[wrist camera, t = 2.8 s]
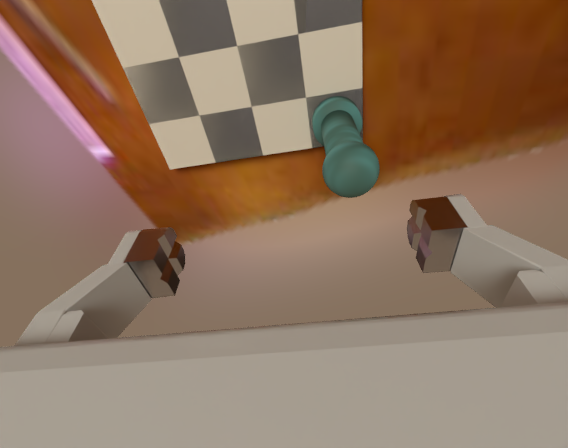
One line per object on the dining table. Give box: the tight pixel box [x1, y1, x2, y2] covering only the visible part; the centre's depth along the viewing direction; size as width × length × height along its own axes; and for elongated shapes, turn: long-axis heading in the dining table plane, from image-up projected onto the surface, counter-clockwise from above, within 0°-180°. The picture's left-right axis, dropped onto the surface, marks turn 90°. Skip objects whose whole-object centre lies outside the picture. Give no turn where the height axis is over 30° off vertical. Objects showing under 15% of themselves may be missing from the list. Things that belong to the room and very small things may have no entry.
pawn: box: [312, 96, 379, 198], centre depth 25 cm, size 4×4×11 cm
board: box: [92, 0, 363, 169], centre depth 26 cm, size 20×20×1 cm
